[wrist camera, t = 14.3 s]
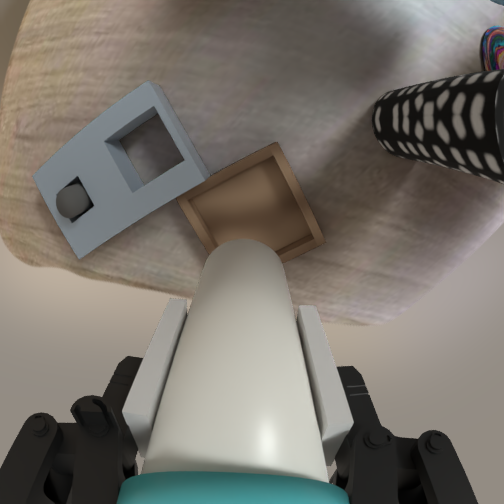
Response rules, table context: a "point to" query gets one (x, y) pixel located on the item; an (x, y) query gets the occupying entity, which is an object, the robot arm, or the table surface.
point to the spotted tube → (447, 123)
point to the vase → (494, 48)
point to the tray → (254, 206)
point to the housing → (116, 170)
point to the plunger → (73, 200)
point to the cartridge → (237, 397)
